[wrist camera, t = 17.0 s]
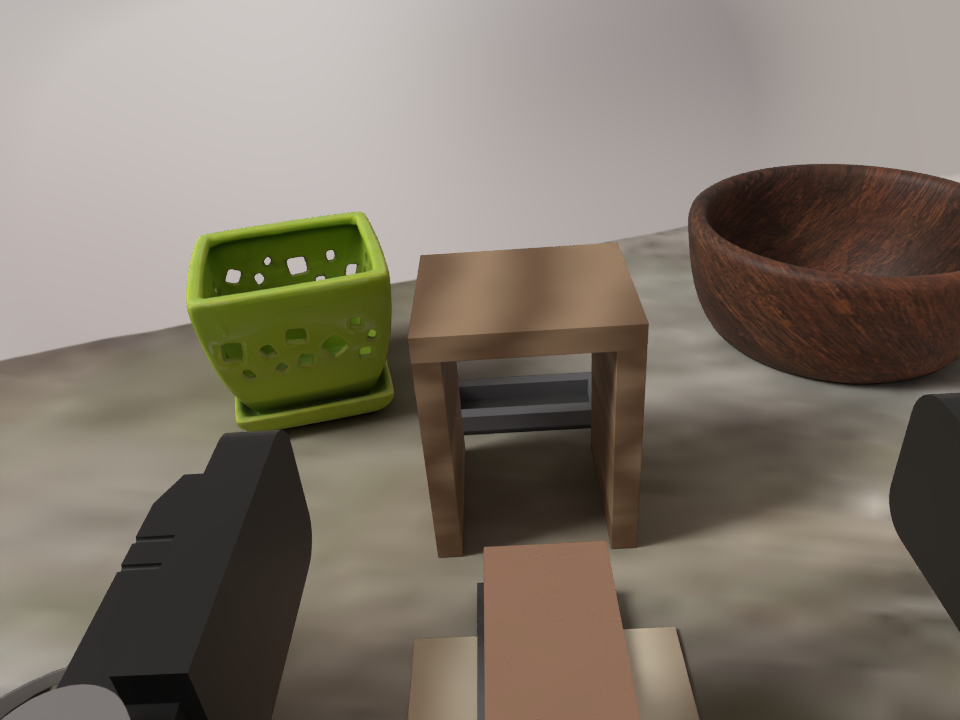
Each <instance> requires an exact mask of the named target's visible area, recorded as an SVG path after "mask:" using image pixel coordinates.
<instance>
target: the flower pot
mask: <svg viewBox="0 0 960 720" xmlns="http://www.w3.org/2000/svg"><path fill="white" fill-rule="evenodd" d="M328 250H333V251H334V254H335V257H334V259H333V260H328V259H327V257H326V252H327V251H328ZM266 257H269V258H270V259H271V262H270V264H269V265H265V263H264V260H265V259H266ZM295 257H304V259H305V262H306V265H307V271H306V272H303V273H299V274H295V275H291V274H290V271H289V268H288V266H287V260H288V259H290V258H295ZM348 264H357V268H356V273H355V274H352V275H346V267H347V265H348ZM229 269H234V270H239V271H241V277H240V280H239V282H238V283H229V282H226V281H225V279H226V275H227V272H228V270H229ZM258 273H261V274H262V275H263V277H264V281H263V282H262V283H261V284H258V283H257V282H256V281H255V279H254V276H255V275H256V274H258ZM318 276H324V277H325V279H324V280H319V281H316V277H318ZM186 303H187V310H188V314H189V317H190V320H191V322H192V325H193V327H194V330H195V332H196V335H197V337H198V339H199V341H200V343H201V346H202V348H203V350H204V352H205V354H206V356H207V357H208V359H209V361H210V363H211V365H212V366H213V368H214V370H215V371H216V373H217V374H218V376H219V377H220V379H221V380H222V381H223V383H224V384H225V385H226V386H227V388H228V389H229V390H230V391H231V392H232V393H233V394H234V395H235V414H236V422H237V424H238V426H239V427H240V428H242V429H244V430H246V431H250V432H253V431H270V430H279V429H285V428H291V427H296V426H301V425H307V424H312V423H317V422H322V421H328V420H333V419H338V418H343V417H349V416H354V415H359V414H364V413H368V412H373V411H378V410H380V409H382V408H384V407H386V406H387V405H388V404H389V403H390V402H391V401H392V399H393V397H394V387H393V383H392V379H391V374H390V371H389V367H388V363H387V359H386V357H387V352H388V347H389V341H390V333H391V314H392V304H391V285H390V276H389V271H388V267H387V264H386V261H385V258H384V254H383V251H382V249H381V246H380V243H379V241H378V238H377V236H376V234H375V232H374V230H373V228H372V226H371V224H370V222H369V221H368V218H367V217H366V216H365V214H364V213H362V212H351V213H343V214H335V215H327V216H320V217H313V218H306V219H299V220H292V221H285V222H279V223H273V224H266V225H260V226H253V227H247V228H241V229H235V230H228V231H223V232H217V233H212V234H206V235H203V236H200V237H199V238H198V239H197V242H196V244H195V246H194V250H193V253H192V257H191V261H190V265H189V271H188V277H187V288H186Z"/></svg>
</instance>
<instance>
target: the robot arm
mask: <svg viewBox="0 0 960 720" xmlns="http://www.w3.org/2000/svg"><path fill="white" fill-rule="evenodd" d="M889 504H890V512H891V517H892V521H893V524H894V527H895V529H896V532H897V534H898V536H899V537H900V539H901V541H902V542H903V544H904V545H905V547H906V549H907V550H908V552H909V553H910V555H911V556H912V558H913V559H914V561H915V563H916V564H917V566H918V567H919V569H920V570H921V572H922V574H923V575H924V577H925V578H926V580H927V581H928V583H929V584H930V586H931V588H932V589H933V591H934V592H935V594H936V595H937V597H938V599H939V600H940V602H941V603H942V605H943V606H944V608H945V609H946V611H947V613H948V614H949V616H950V617H951V619H952V620H953V622H954V624H955V625H956V627H957V628H958V630H959V631H960V393H946V394H929V395H924V396H922V397H920V398H919V399H918V400H917V402H916V403H915V405H914V407H913V410H912V413H911V416H910V420H909V423H908V427H907V430H906V434H905V437H904V441H903V444H902V448H901V451H900V455H899V458H898V462H897V465H896V469H895V473H894V476H893V480H892V483H891V487H890V494H889ZM311 550H312V530H311V521H310V516H309V511H308V508H307V504H306V500H305V496H304V492H303V488H302V484H301V480H300V476H299V473H298V469H297V465H296V461H295V457H294V453H293V449H292V445H291V442H290V439H289V437H288V435H287V433H286V432H285V431H284V430H270V431H253V432H235V433H225V434H224V435H223V436H222V437H221V438H220V440H219V442H218V444H217V446H216V448H215V450H214V452H213V454H212V457H211V459H210V461H209V463H208V465H207V467H206V469H205V472H204V474H187V475H183V476H182V477H181V478H180V479H179V480H178V481H177V482H176V483H175V484H174V485H173V486H172V487H171V488H169V489H168V490H167V491H166V492H165V493H164V494H163V495H162V496H161V497H160V498H159V499H158V500H157V501H156V502H155V503H154V504H153V505H152V507H151V509H150V511H149V513H148V515H147V517H146V519H145V521H144V522H143V524H142V526H141V528H140V530H139V532H138V534H137V536H136V544H132V545H131V547H130V549H129V551H128V553H127V555H126V557H125V559H124V561H123V562H122V564H121V566H122V570H121V572H117V574H116V576H115V578H114V580H113V582H112V583H111V585H110V587H109V589H108V591H107V593H106V595H105V597H104V599H103V601H102V602H101V604H100V606H99V608H98V610H97V612H96V614H95V616H94V618H93V620H92V622H91V623H90V625H89V627H88V629H87V631H86V633H85V635H84V637H83V639H82V641H81V643H80V644H79V646H78V648H77V650H76V652H75V654H74V656H73V658H72V660H71V662H70V663H69V665H68V667H67V669H66V671H65V673H64V675H63V677H62V679H61V681H60V682H59V684H58V686H57V687H56V689H54V690H52V691H49V692H46V693H43V694H41V695H39V696H37V697H35V698H33V699H31V700H29V701H27V702H26V703H24V704H22V705H21V706H19V707H18V708H16V709H15V710H13V711H12V712H11V713H9V714H8V715H7V716H5V717H4V718H3V719H2V720H271V717H272V713H273V709H274V705H275V701H276V697H277V693H278V689H279V685H280V681H281V677H282V673H283V669H284V665H285V661H286V657H287V653H288V649H289V645H290V641H291V637H292V633H293V629H294V625H295V621H296V617H297V613H298V609H299V605H300V601H301V597H302V593H303V589H304V585H305V581H306V577H307V573H308V569H309V565H310V559H311Z"/></svg>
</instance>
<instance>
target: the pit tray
mask: <svg viewBox="0 0 960 720" xmlns="http://www.w3.org/2000/svg"><path fill="white" fill-rule="evenodd" d="M458 384H459V394H460V404H461V413H462V423H463V433H464V435H469V434H487V433H505V432H522V431H540V430H557V429H575V428H591V385H592V372H582V373H565V374H548V375H531V376H514V377H497V378H481V379H464V380H458Z"/></svg>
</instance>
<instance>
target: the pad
mask: <svg viewBox="0 0 960 720" xmlns="http://www.w3.org/2000/svg"><path fill="white" fill-rule="evenodd" d="M623 632H624V637H625V642H626V647H627V652H628V658H629V663H630V668H631V673H632V678H633V684H634V689H635V694H636V699H637V704H638V710H639V715H640V720H699V716H698V712H697V708H696V705H695V701H694V697H693V693H692V689H691V685H690V682H689V678H688V674H687V670H686V666H685V663H684V659H683V655H682V651H681V647H680V644H679V640H678V636H677V632H676V628H675V627H662V628H641V629H623ZM408 720H477V636H470V637H449V638H427V639H415V640H414V652H413V663H412V675H411V687H410V698H409V710H408Z"/></svg>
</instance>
